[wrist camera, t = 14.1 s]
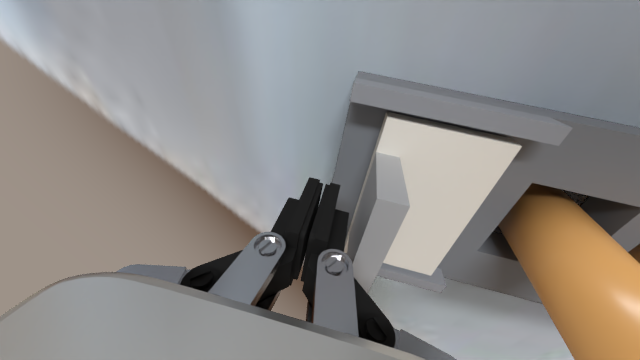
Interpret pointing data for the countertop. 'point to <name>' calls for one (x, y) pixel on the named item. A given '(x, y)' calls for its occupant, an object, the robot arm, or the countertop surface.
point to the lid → (421, 193)
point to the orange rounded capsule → (577, 274)
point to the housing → (526, 168)
